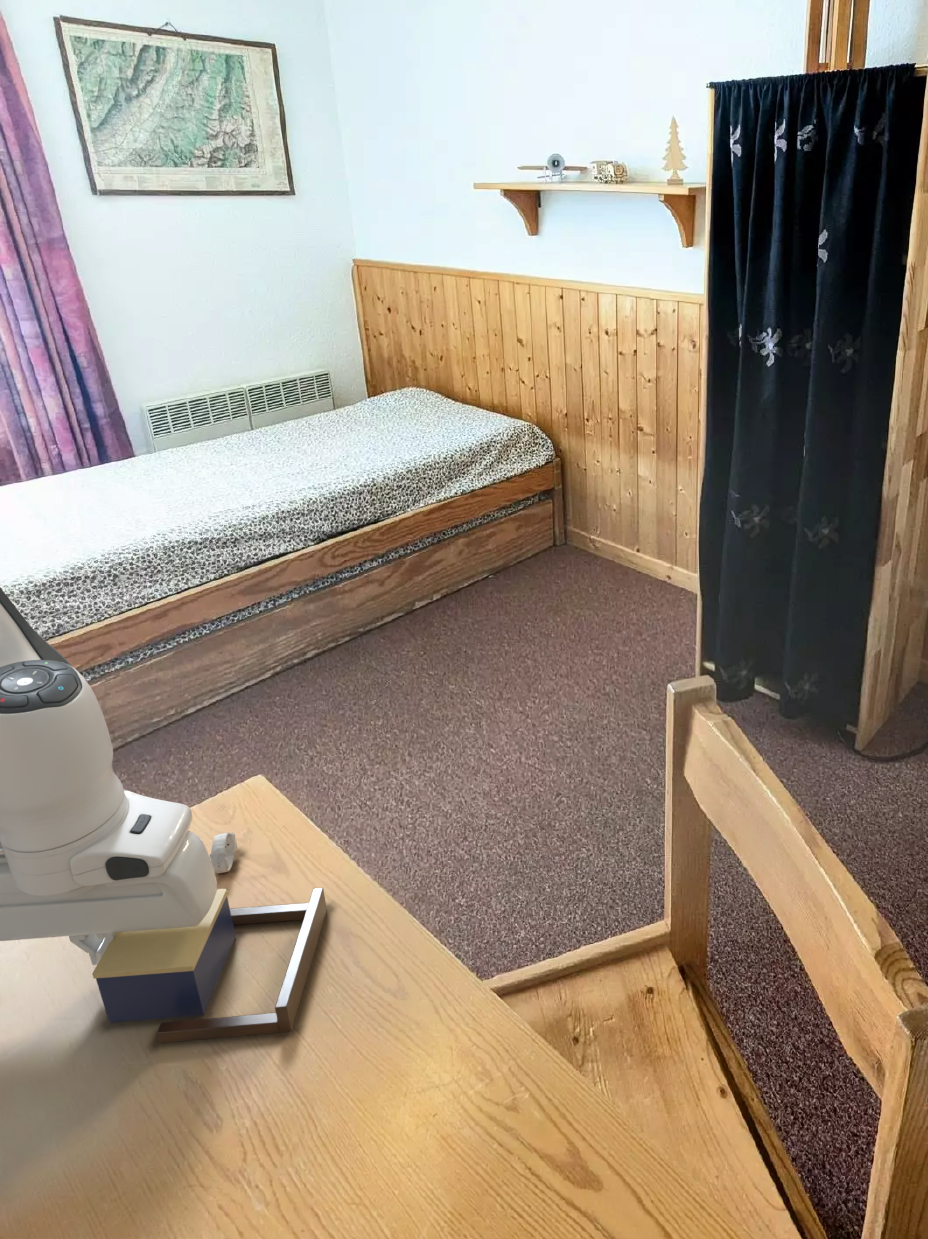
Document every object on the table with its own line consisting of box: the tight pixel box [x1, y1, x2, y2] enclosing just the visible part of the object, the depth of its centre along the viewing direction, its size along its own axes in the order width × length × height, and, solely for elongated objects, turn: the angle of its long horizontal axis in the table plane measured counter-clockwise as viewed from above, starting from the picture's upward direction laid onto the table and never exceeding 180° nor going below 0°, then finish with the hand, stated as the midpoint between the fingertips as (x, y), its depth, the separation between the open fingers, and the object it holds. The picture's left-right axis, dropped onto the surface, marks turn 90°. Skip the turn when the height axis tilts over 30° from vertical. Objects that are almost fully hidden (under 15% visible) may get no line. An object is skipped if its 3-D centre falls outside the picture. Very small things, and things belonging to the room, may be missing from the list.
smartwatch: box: [209, 831, 238, 874], centre depth 88 cm, size 4×2×4 cm, turn 13°
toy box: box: [91, 888, 237, 1024], centre depth 75 cm, size 8×8×6 cm
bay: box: [156, 887, 328, 1044], centre depth 76 cm, size 11×13×3 cm
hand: (107, 958), depth 75 cm, fingers closed
